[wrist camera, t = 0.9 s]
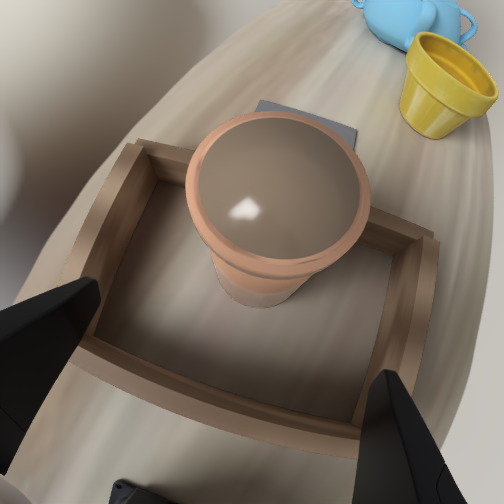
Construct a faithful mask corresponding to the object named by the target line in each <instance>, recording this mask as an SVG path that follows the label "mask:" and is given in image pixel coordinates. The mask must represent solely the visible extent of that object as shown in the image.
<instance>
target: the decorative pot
mask: <svg viewBox="0 0 504 504" xmlns="http://www.w3.org/2000/svg"><path fill="white" fill-rule="evenodd" d="M351 3H352V4H353V5H354V6H355V7H357V8H359V9H364V17H365V20H366V23H367V25H368V28H369V29H370V30H371V31H372V32H373V33H374V34H375V35H377V38H378V39H379V40H380V41H381V42H383V43H385V44H392V45H393V46H395V47H397V48H399V49H401V50H403V51H405V52H408V50H409V47H410V45H411V43H412V41H413V39H414V37H415V35H416V34H417V33H419V32H431V33H435V34H438V35H441V36H443V37H445V38H447V39H449V40H451V41H453V42H454V43H456V44H458V45H459V46H461V47H462V48H463V49H465V50H466V51H467V47H466V46H465V45H464V44H463V43H464V42H466V41H467V40H469V39H470V38H472V37H473V36H474V35H475V34H476V32H477V28H478V27H477V23H476V21H475V19H474V18H473V16H472V15H471V14H470V13H469V12H467V11H466V10H464V9H461V8H459V6H458V4H457V2H456V1H455V0H362V3H360V2H358V1H357V0H351ZM460 14H462V15H464V16H466V17H467V18H468V19H469V20H470V21H471V23H472V25H471V28H470V29H469V30H468V31H467V32H466V33H464V34H463V35H461V36H460V31H461V21H460V20H461V19H460Z"/></svg>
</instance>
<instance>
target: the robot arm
mask: <svg viewBox="0 0 504 504" xmlns="http://www.w3.org/2000/svg"><path fill="white" fill-rule="evenodd" d="M100 304H101V294H100V288H99V283H98V281H97V280H96V279H94V278H92V277H90V276H84V277H82V278H79V279H77V280H74V281H72V282H69V283H66V284H64V285H61V286H59V287H57V288H54V289H52V290H49V291H47V292H44V293H42V294H39V295H37V296H35V297H32V298H30V299H27V300H25V301H22V302H20V303H18V304H15V305H13V306H11V307H8V308H6V309H4V310H1V311H0V474H2V475H3V476H5V474H6V473H7V471H8V468H9V466H10V464H11V462H12V460H13V458H14V456H15V454H16V452H17V450H18V448H19V446H20V444H21V442H22V440H23V438H24V436H25V434H26V432H27V430H28V429H29V427H30V425H31V423H32V421H33V419H34V418H35V416H36V414H37V412H38V410H39V409H40V407H41V405H42V403H43V402H44V400H45V398H46V396H47V395H48V393H49V391H50V390H51V388H52V386H53V385H54V383H55V381H56V380H57V378H58V376H59V375H60V373H61V372H62V370H63V368H64V367H65V365H66V364H67V362H68V360H69V359H70V357H71V356H72V354H73V353H74V351H75V349H76V348H77V346H78V345H79V343H80V342H81V340H82V338H83V336H84V334H85V332H86V330H87V329H88V327H89V325H90V323H91V321H92V319H93V317H94V315H95V314H96V312H97V310H98V308H99V306H100ZM444 463H445V461H444V459H443V457H442V455H441V453H440V451H439V449H438V447H437V445H436V443H435V441H434V439H433V437H432V435H431V433H430V431H429V429H428V428H427V426H426V424H425V422H424V420H423V418H422V416H421V414H420V413H419V411H418V409H417V407H416V405H415V403H414V402H413V400H412V398H411V396H410V394H409V393H408V391H407V389H406V387H405V386H404V384H403V382H402V380H401V379H400V377H399V375H398V373H397V372H396V371H394V370H389V369H383V370H381V372H380V373H379V374H378V375H377V377H376V378H375V379H374V380H373V381H372V383H371V384H370V386H369V389H368V395H367V401H366V407H365V412H364V418H363V423H362V428H361V434H360V443H359V453H358V462H357V471H356V478H355V485H354V492H353V499H352V504H467V502H466V500H465V499H464V497H463V495H462V494H461V492H460V490H459V488H458V486H457V485H456V483H455V481H454V479H453V477H452V475H451V473H450V471H449V469H448V467H447V465H446V464H444ZM118 484H120V485H121V486H122V487H119V486H118ZM109 504H177V503H174V502H171V501H168V500H167V499H165V498H162V497H160V496H157V495H155V494H152V493H150V492H148V491H145V490H143V489H140V488H136V487H134V486H132V485H130V484H128V483H126V482H123V481H121V480H117V481H115V482H114V484H113V488H112V492H111V496H110V500H109Z"/></svg>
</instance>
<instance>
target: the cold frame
mask: <svg viewBox="0 0 504 504" xmlns="http://www.w3.org/2000/svg"><path fill="white" fill-rule="evenodd" d="M194 153H195V151H191V150H187V149H183V148H179V147H175V146H170V145H166V144H162V143H157V142H153V141H148V140H143V139H139V138H138V139H137V141H136V143H135V144H131V143H127V144H126V146H125V147H124V149H123V151H122V152H121V154H120V156H119V157H118V159H117V161H116V162H115V164H114V166H113V168H112V169H111V171H110V173H109V175H108V177H107V178H106V180H105V182H104V184H103V186H102V188H101V189H100V191H99V193H98V195H97V197H96V199H95V201H94V203H93V205H92V207H91V209H90V211H89V213H88V215H87V217H86V219H85V221H84V223H83V226H82V228H81V230H80V232H79V234H78V236H77V239H76V241H75V243H74V245H73V248H72V250H71V252H70V255H69V257H68V260H67V262H66V265H65V267H64V270H63V272H62V275H61V277H60V280H59V282H58V285H57V287H59V286H61V285H64V284H66V283H69V282H72V281H74V280H77V279H79V278H82V277H84V276H90V277H92V278H94V279H96V280H97V281H98V283H99V288H100V294H101V304H100V306H99V308H98V310H97V312H96V314H95V315H94V317H93V319H92V321H91V323H90V325H89V327H88V329H87V330H86V332H85V334H84V336H83V338H82V340H81V342H80V343H79V345H78V346H77V348H76V349H75V351H74V353H73V354H72V356H71V357H70V359H69V360H68V361H69V362H71V363H73V364H74V365H76V366H78V367H79V368H81V369H83V370H85V371H87V372H88V373H90V374H92V375H94V376H96V377H98V378H100V379H101V380H103V381H105V382H107V383H109V384H111V385H113V386H115V387H117V388H119V389H121V390H123V391H125V392H128V393H130V394H132V395H134V396H136V397H138V398H140V399H143V400H145V401H147V402H150V403H152V404H154V405H157V406H159V407H161V408H164V409H166V410H169V411H171V412H174V413H176V414H179V415H181V416H184V417H187V418H189V419H192V420H195V421H198V422H200V423H203V424H206V425H209V426H212V427H215V428H218V429H221V430H225V431H228V432H231V433H234V434H238V435H241V436H245V437H248V438H252V439H256V440H259V441H263V442H267V443H271V444H275V445H280V446H284V447H288V448H293V449H298V450H303V451H308V452H313V453H319V454H325V455H331V456H338V457H345V458H353V459H358V453H359V443H360V434H361V428H362V423H363V418H364V412H365V407H366V401H367V395H368V389H369V386H370V384H371V383H372V381H373V380H374V379H375V378H376V377H377V375H378V374H379V373H380V372H381V370H383V369H389V370H394V371H396V372H397V373H398V375H399V377H400V379H401V380H402V382H403V384H404V386H405V387H406V389H407V391H408V393H409V394H410V396H412V392H413V389H414V385H415V382H416V378H417V374H418V371H419V367H420V363H421V359H422V354H423V350H424V346H425V341H426V336H427V331H428V326H429V321H430V316H431V310H432V304H433V297H434V290H435V283H436V275H437V266H438V256H439V244H440V242H439V241H436V240H434V239H433V235H434V232H432V231H430V230H428V229H425V228H423V227H421V226H418V225H416V224H413V223H411V222H409V221H406V220H404V219H401V218H399V217H396V216H394V215H391V214H389V213H386V212H384V211H381V210H379V209H376V208H373V207H371V206H370V212H369V216H368V220H367V223H366V225H365V227H364V230H363V232H362V233H361V235H360V237H359V238H358V240H357V241H356V242H358V243H361V244H363V245H366V246H369V247H372V248H375V249H377V250H380V251H383V252H386V253H388V254H391V255H393V261H392V267H391V273H390V279H389V284H388V289H387V294H386V299H385V304H384V308H383V313H382V317H381V322H380V326H379V330H378V334H377V338H376V342H375V346H374V350H373V353H372V357H371V361H370V364H369V368H368V371H367V374H366V378H365V381H364V384H363V387H362V391H361V394H360V397H359V400H358V403H357V406H356V409H355V412H354V414H353V417H352V420H351V423H348V422H343V421H338V420H332V419H328V418H323V417H318V416H313V415H309V414H305V413H300V412H296V411H292V410H288V409H284V408H281V407H277V406H273V405H269V404H266V403H262V402H259V401H255V400H252V399H249V398H245V397H242V396H239V395H236V394H233V393H229V392H226V391H223V390H220V389H217V388H215V387H212V386H209V385H206V384H203V383H200V382H198V381H195V380H192V379H189V378H187V377H184V376H182V375H179V374H176V373H174V372H171V371H169V370H166V369H164V368H162V367H159V366H157V365H154V364H152V363H150V362H147V361H145V360H143V359H141V358H138V357H136V356H134V355H132V354H129V353H127V352H125V351H123V350H121V349H119V348H117V347H115V346H112V345H110V344H108V343H106V342H104V341H102V340H100V339H98V338H96V337H94V336H93V335H94V332H95V329H96V326H97V323H98V320H99V317H100V315H101V312H102V309H103V306H104V304H105V301H106V298H107V295H108V293H109V290H110V288H111V285H112V282H113V280H114V277H115V275H116V272H117V270H118V267H119V265H120V262H121V260H122V258H123V255H124V253H125V251H126V248H127V246H128V244H129V241H130V239H131V237H132V234H133V232H134V230H135V228H136V226H137V223H138V221H139V219H140V217H141V215H142V213H143V211H144V208H145V206H146V204H147V202H148V200H149V198H150V196H151V194H152V192H153V190H154V188H155V186H156V184H157V182H158V180H160V181H164V182H168V183H171V184H175V185H178V186H182V187H185V184H186V174H187V170H188V167H189V163H190V161H191V159H192V156H193V154H194ZM185 188H186V187H185Z"/></svg>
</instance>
